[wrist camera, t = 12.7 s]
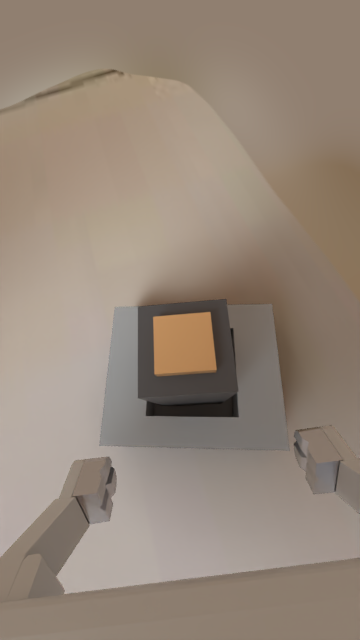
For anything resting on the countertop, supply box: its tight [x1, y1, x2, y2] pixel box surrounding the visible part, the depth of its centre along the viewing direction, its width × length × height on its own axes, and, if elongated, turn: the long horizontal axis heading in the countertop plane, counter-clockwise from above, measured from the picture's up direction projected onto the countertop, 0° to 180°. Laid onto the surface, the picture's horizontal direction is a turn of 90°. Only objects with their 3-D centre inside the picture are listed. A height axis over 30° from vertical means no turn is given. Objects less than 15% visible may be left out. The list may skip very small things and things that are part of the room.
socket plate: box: [99, 304, 290, 451], centre depth 18 cm, size 11×9×4 cm
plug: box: [138, 299, 239, 407], centre depth 15 cm, size 4×4×10 cm
